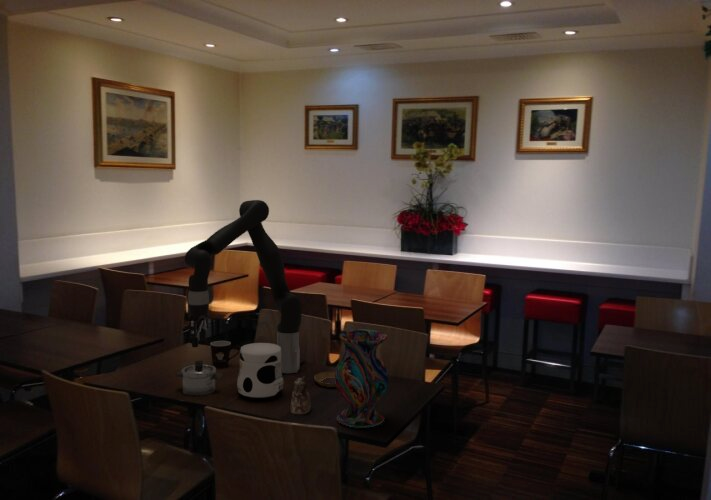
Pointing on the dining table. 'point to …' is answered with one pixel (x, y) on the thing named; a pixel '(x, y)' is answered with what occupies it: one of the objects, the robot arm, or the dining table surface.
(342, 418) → the vase
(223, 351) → the coffee mug
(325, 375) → the plant saucer
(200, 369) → the lid
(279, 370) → the milk container
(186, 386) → the pot
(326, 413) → the dining table surface
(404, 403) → the dining table surface
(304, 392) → the figurine
